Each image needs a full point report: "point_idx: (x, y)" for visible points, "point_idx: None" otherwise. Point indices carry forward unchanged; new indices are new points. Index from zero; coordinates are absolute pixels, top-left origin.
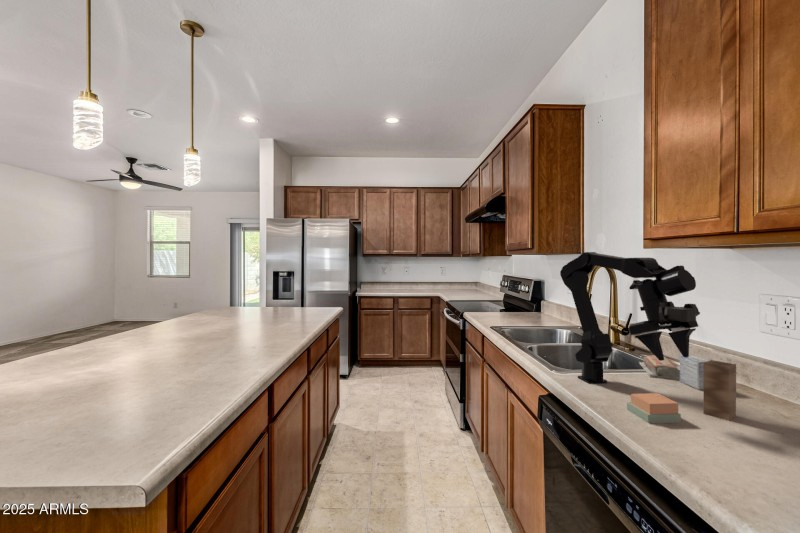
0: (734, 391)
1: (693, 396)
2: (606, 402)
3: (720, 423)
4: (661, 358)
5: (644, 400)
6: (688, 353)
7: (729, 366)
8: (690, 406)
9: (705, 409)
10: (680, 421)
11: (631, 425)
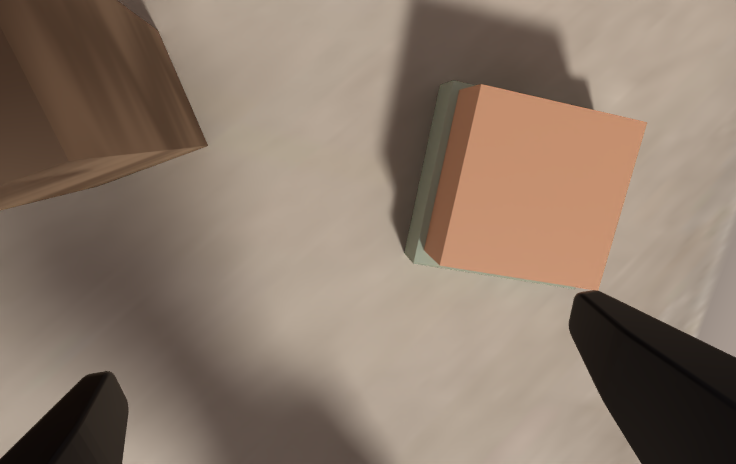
0: None
1: (8, 374)
2: (570, 375)
3: (244, 15)
4: (612, 308)
5: (624, 177)
6: (66, 402)
7: None
8: (181, 247)
9: (197, 137)
10: (442, 84)
11: (689, 116)
